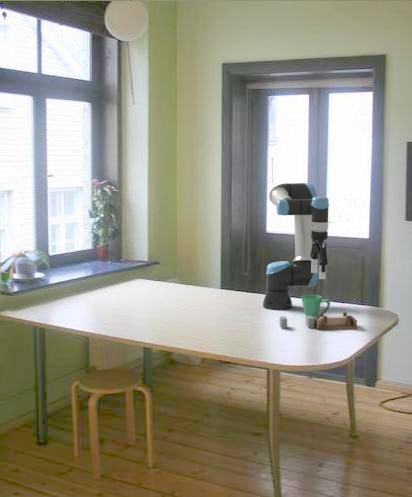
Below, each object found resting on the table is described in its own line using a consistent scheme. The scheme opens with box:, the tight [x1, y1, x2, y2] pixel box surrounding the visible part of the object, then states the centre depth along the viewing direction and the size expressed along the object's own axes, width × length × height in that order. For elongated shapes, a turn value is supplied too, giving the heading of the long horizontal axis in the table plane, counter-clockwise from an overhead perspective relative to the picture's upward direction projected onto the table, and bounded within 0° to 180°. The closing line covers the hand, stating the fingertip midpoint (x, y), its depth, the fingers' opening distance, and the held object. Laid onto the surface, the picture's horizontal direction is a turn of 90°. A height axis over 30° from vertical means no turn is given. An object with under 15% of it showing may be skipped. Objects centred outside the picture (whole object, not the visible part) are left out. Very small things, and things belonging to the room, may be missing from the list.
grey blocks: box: [279, 315, 315, 330], centre depth 332 cm, size 5×15×4 cm, turn 96°
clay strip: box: [318, 315, 347, 326], centre depth 332 cm, size 3×14×4 cm, turn 96°
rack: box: [314, 311, 358, 331], centre depth 332 cm, size 9×18×6 cm, turn 96°
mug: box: [301, 294, 331, 318], centre depth 351 cm, size 15×10×10 cm
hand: (318, 275), depth 335 cm, fingers open, 13 cm apart
